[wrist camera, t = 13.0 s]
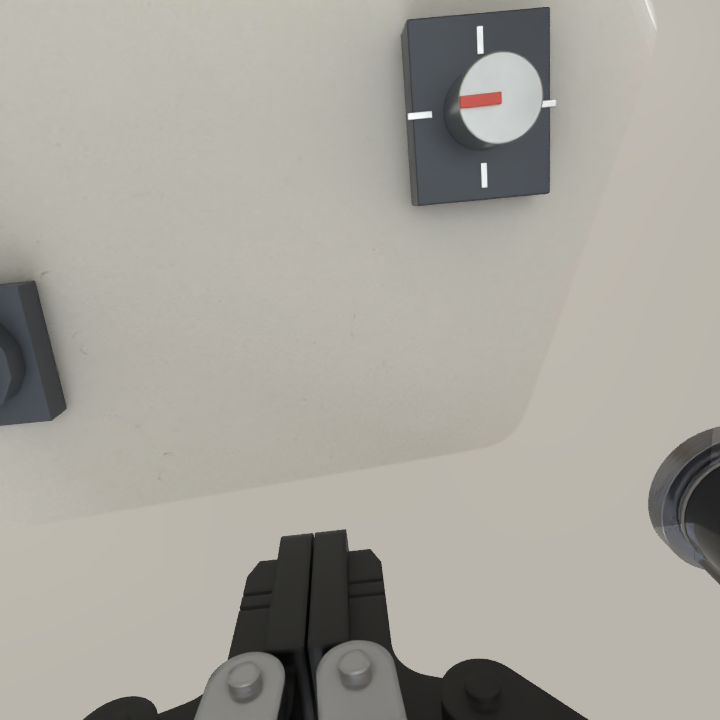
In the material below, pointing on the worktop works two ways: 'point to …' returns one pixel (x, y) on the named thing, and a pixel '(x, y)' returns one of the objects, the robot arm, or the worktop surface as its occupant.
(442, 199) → the control panel
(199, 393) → the worktop surface
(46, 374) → the button block
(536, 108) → the dial
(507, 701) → the robot arm
